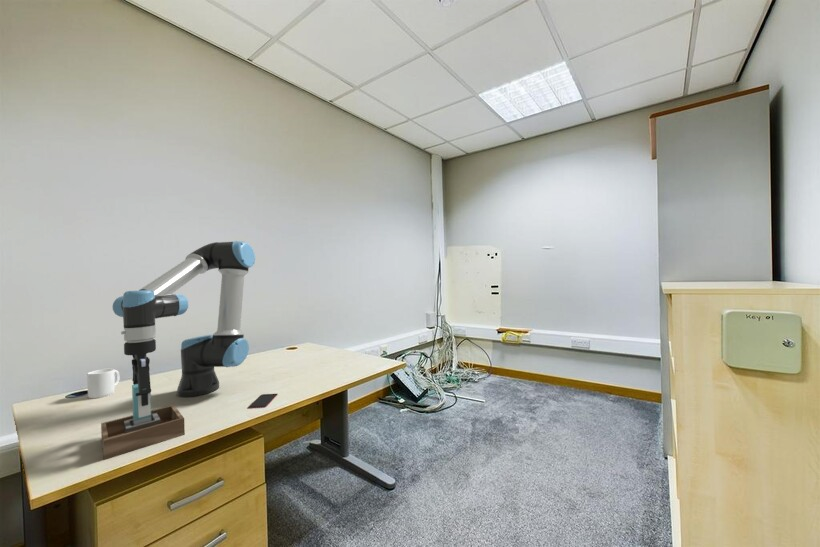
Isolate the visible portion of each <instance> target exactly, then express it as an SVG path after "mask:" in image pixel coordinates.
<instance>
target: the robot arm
mask: <svg viewBox="0 0 820 547" xmlns="http://www.w3.org/2000/svg"><path fill="white" fill-rule="evenodd" d="M255 262H256V256H255V251H254V249H253V247H252V246H251V244H249V243H248V242H246V241H240V240H239V241H237V240H234V241H220V242H219V241H217V242H211V243H208V244H205V245H203V246H201V247H199V248H197V249H195V250H194V251H191V252H190V253H189V254H187V255H186V256H185V260H183V261H181V262H179V263H178V264H177V265H175V266H174V267H172V268H171V269H169V270H168V271H166V272H165V273H163V274H162V275H160V276H158V277H157V278H155V279H154V280H152V281H150V283H149V282H148V284H146V285H144V286H143V287H141V288H140V289H138V290H126V291H125V292H124V293H123V295H121V296H119V297H116V299H115V300H114V301H113V303H112V311H113V313H114V314H115V315H116V316H118V317H120V318H122V319H123V331H121V332H120V334H121V335H123V341H124V343H123V354H124V355H126V356H132V359H131V366H132V379H131V381H132V385H135V384H138V389H139V393H136V396H138V414H139V418H140V417H144V416H148V415H151V410H152V407H151V408H150V393H152V389H151V377H150V375H151V374H150V363H151V360H150V358H149V357H148V356H147V354H149V353H154V352H155V351H156V350H157V344H156V343H157V342H156V339H155V338H156V335H157V334H156V319H161V318H169V317H177V316H180V315H183V314H185V313H186V312H187V311H188V309H189V300H188V298H187V297H186V296H185V295H183V294H180V293H175V292H176V291H178V290H179V289H180V288H182V287H183V286H185V285H186V284H187V283H189V282H190V281H191V280H192V279H194V278H195V277H197V276H198V275H199V274H200V275H201V274H205V273H207V271H211V270H214V269H217V270H218V272H219V273H220V274H221V283H220V284H221V285H220V295H219V304H218V305H219V307H218V318H217V328H216V331H215V332H214V333H212V334H206V335H202V336H195V337H191V338H187V339H184V340H183V341H182V342H181V345H180V346H181V348H180V358H181V359H180V361H181V364H180V365H181V377H180V380H179V383H178V386H177V389H176V395H177V396H178V397H182V398H189V397H190V398H191V397H197V396H203V395H206V394H210V393H212V392H215V391H217V390H218V389H220V380H219V378H218V376H217V374H216V371H215V367H217V368H221V367H222V368H233V367H238V366H240V365H242V363H244V361H245V360H246V359H247V356H248V355H249V351H250V344H249V342H248V340H247V339H245V336H244V335H245V334H244V333H243V332H242V331H241V325H242V324H241V323H242V320H241V319H242V308H243V295H244V283H245V276H246V275H247V274H248V273H249V268H252V267H253V266H254V265H255ZM143 389H145V390H143Z"/></svg>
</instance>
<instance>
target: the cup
mask: <svg viewBox="0 0 820 547" xmlns="http://www.w3.org/2000/svg"><path fill="white" fill-rule="evenodd" d="M86 374H87V378H86V379H87V396H88V398H89V399H100V398H99V397H101V398H104V396H105V397H108V395H109V396H111V395H113V394H114V393H115V392H116V386H117V385H118V384H119V382H120V372H119V371H118V370H116V369H115V368H111V367H110V368H102V369H96V370H92V371H89V372H87V373H86ZM115 376H116V378H115ZM110 394H111V395H110Z"/></svg>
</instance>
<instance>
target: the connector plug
mask: <svg viewBox="0 0 820 547" xmlns="http://www.w3.org/2000/svg"><path fill="white" fill-rule="evenodd" d="M143 390H145V389H143ZM131 393H132V394H131V395H132V399H131V400H132V415H133V426H134V425H138V424H142V423H146V422H149V421H151V415H148V416H144V417H140V418H139V414H138V396H136V393H139V389H138V384H135V385H134V384H132V385H131ZM151 393H152V392H151ZM151 393H150V408H151V409H152V394H151Z"/></svg>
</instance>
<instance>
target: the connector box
mask: <svg viewBox="0 0 820 547" xmlns="http://www.w3.org/2000/svg"><path fill="white" fill-rule="evenodd" d="M100 430H101V431H100V434H101V447H102V453H103V460H107V459H111V458H113V457H114V458H115V457H118V456H120V455H123V454H127V453H130V452H134V451H136V450H140V449H143V448H146V447H149V446H152V445H155V444H156V445H157V444H159V443H163V442H166V441H169V440H172V439H174V438H178V437H181V436H184V435H185V434H186V432H185V431H186V430H185V417H184V416H183V414H181V412H180V411H179V409H178V408H177V406H176V405H175V404H172V405H168V406H163V407H160V408H156V409H153V410H152V409H151V421H149V422H146V423H142V424H138V425H134V426H133V414H132V415H128V416H123V417H119V418H116V419H112V420H108V421H104V422H100Z"/></svg>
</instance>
